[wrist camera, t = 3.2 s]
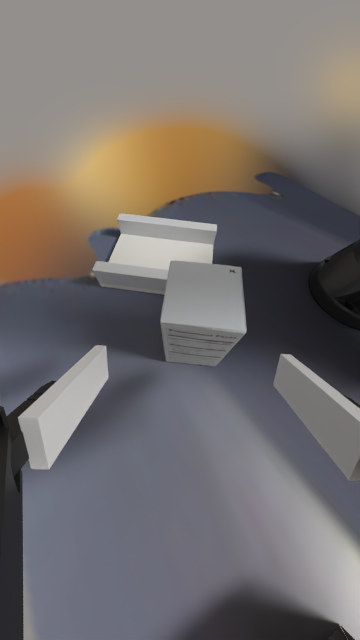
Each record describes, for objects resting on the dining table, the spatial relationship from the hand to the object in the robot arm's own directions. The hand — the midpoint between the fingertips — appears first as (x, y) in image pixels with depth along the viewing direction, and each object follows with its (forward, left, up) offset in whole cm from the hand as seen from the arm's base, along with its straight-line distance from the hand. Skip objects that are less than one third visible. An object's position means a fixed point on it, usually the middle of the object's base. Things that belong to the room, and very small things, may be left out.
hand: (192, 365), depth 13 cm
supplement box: (-1, -7, -12) cm, 14 cm away
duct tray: (+5, -23, -12) cm, 26 cm away
